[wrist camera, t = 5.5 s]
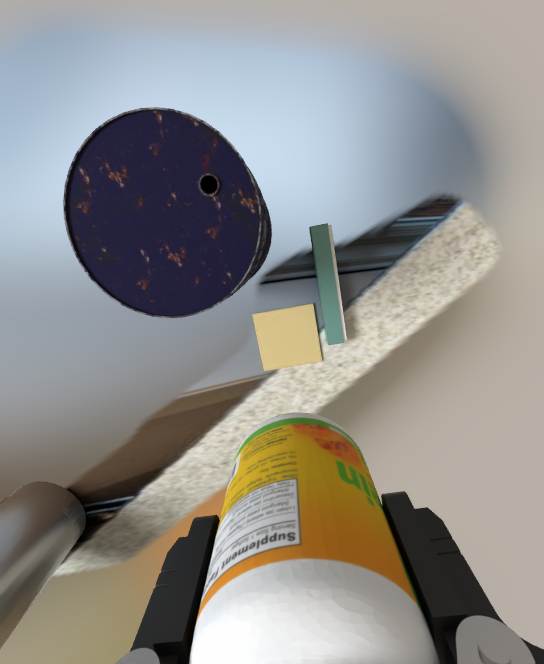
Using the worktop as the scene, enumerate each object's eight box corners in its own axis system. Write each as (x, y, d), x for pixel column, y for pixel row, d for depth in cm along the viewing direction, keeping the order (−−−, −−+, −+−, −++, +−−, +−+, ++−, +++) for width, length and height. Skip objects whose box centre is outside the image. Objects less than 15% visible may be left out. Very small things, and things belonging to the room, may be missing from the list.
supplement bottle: (386, 485, 14) (616, 1018, 4) (277, 537, 14) (268, 1074, 5) (321, 384, 13) (437, 798, 3) (209, 447, 13) (36, 916, 4)
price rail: (326, 340, 32) (328, 345, 31) (309, 227, 30) (310, 226, 28) (344, 337, 32) (347, 342, 31) (328, 223, 29) (331, 222, 28)
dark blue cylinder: (209, 306, 32) (148, 355, 17) (145, 219, 30) (17, 193, 15) (293, 248, 30) (304, 247, 16) (231, 152, 28) (179, 51, 14)
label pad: (264, 370, 33) (264, 371, 33) (252, 314, 32) (252, 314, 32) (321, 360, 33) (322, 361, 33) (312, 303, 31) (312, 303, 31)
